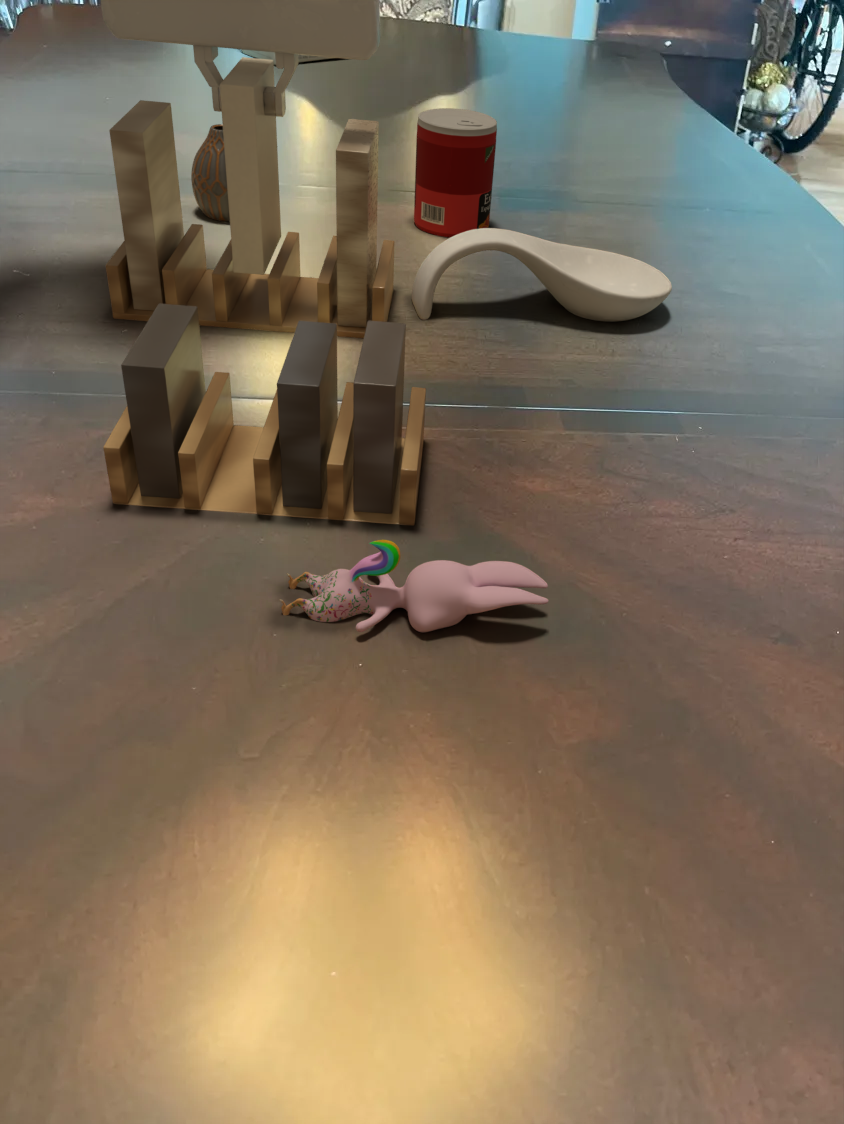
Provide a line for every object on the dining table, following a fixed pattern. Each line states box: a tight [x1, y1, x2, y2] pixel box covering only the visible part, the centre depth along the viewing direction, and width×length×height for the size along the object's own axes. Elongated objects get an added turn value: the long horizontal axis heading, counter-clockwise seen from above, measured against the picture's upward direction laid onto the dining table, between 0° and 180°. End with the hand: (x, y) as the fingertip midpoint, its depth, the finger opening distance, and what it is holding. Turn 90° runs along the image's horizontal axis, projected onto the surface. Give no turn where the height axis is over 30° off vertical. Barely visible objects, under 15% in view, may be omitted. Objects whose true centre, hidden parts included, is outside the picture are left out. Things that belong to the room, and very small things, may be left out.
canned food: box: [413, 107, 498, 238], centre depth 108 cm, size 8×8×11 cm
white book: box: [220, 56, 282, 275], centre depth 85 cm, size 2×9×14 cm, turn 179°
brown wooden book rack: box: [102, 303, 427, 526], centre depth 68 cm, size 19×11×10 cm, turn 89°
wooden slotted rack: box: [104, 99, 396, 339], centre depth 88 cm, size 22×11×15 cm, turn 89°
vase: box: [190, 123, 230, 222], centre depth 106 cm, size 7×7×9 cm
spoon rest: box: [410, 227, 673, 323], centre depth 94 cm, size 24×12×7 cm, turn 104°
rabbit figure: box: [278, 539, 549, 633], centre depth 59 cm, size 6×6×15 cm
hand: (249, 112), depth 82 cm, fingers closed on white book, 2 cm apart
